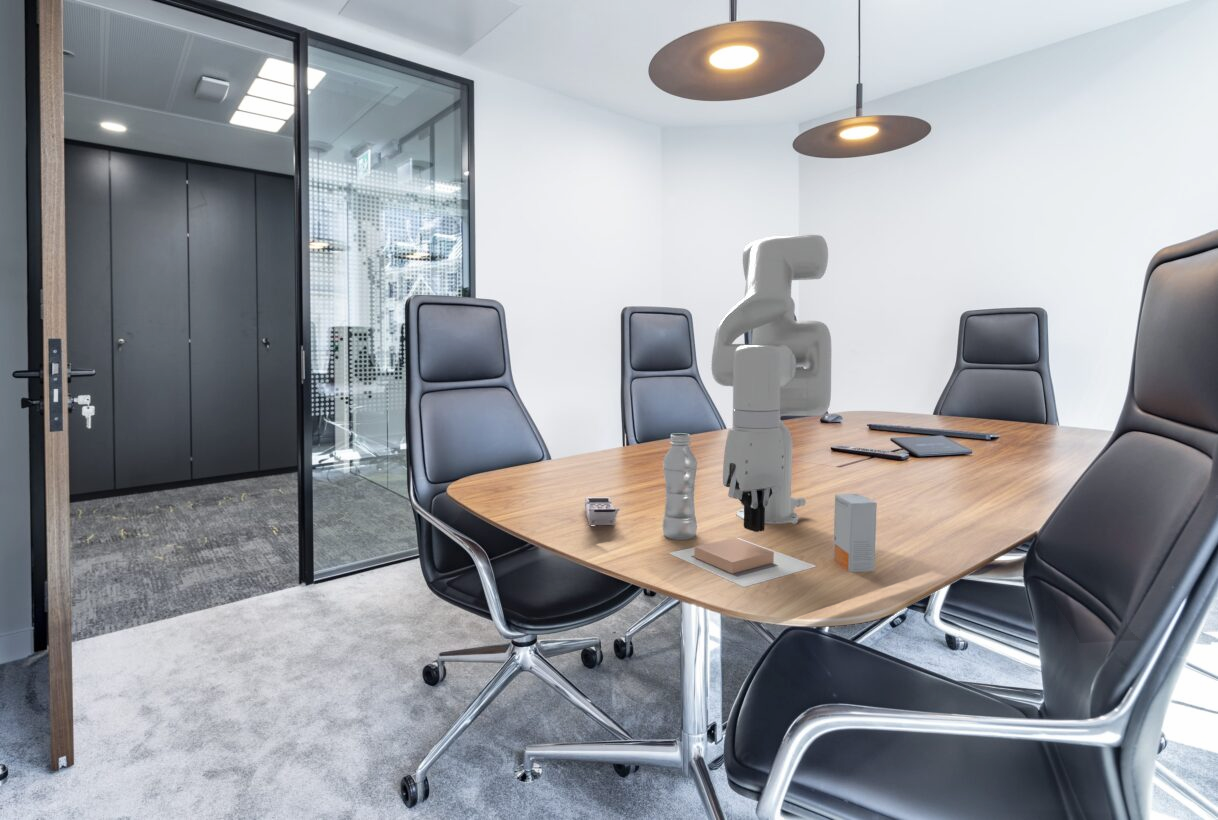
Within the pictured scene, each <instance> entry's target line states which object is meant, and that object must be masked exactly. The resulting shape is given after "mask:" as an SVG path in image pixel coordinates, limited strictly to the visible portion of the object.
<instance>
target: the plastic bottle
mask: <svg viewBox="0 0 1218 820" xmlns="http://www.w3.org/2000/svg"><path fill="white" fill-rule="evenodd" d="M669 440H670V441H669V445H670V446H671V447H670V449H669V450H668V451H667V453H666V454H665V456H664V457H663V461H662V468H663V476H664V483H665V484H664V485H665V505H664V515H663V519H662V527H661V528H662V533H663V535H664V537H665V538H667V539H670V540H674V541H675V540H676V541H687V540H691V539H694V538H695V537H696V535H697V529H698V522H697V518H696V512H695V511H696V509H695V498H694V497H695V483H696V476H697V468H698V461H697V458H696V456H695V455H694V453H693V451H692V450H691V449H690V445H691V435H690V434H689V433H683V432H682V433H680V432H679V433H678V432H676V433H671V434H670V439H669Z"/></svg>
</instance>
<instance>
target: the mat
mask: <svg viewBox="0 0 1218 820" xmlns="http://www.w3.org/2000/svg"><path fill="white" fill-rule="evenodd" d="M736 538H737V539H740V540H742V541H745V542H748V543H751V544H753V545H756V546H759V547H762V548H764V549H767V550H770V551H773V552H774V563H771V564H767V565H763V566H759V567H755V568H752V569H748V570H744V571H740V572H736V573H733V574H732V573H730V572H727V571H725V570H723V569H720V568H718V567H716V566H714V565H711V564H709V563H707V562H704V561H702V560H700V559H697V558H695V557H694V547H695V546H694V547H689V548H686V549H681V550H676V551H672V552H668V554H669V555H672V557H673V556H674V557H676V558H678V559H681V561H682V560H683V561H685V562H687V563H689V564H691V565H693V566H696V567H698V568H700V569H702V570H705V571H707V572H709V573H712V574H714V575H715V576H719V577H721V578H722V579H725V580H726V581H730V582H731V583H734V584H735V585H737V586H741V587H743V588H747V587H750V586H752V585H756V584H760V583H763V582H768V581H770V580H775V579H777V578H781V577H785V576H787V575H788V576H789V575H791V574H796V573H799V572H802V571H803V572H804V571H805V570H809V569H813V568H816V567H818V565H816V564H815V565H814V564H811V563H809V562H806V561H804V560H800V559H798V558H796V557H793V556H790V555H787V554H784V553H781V552H779V551H777V550H773V549H771V548H768V547H766V546H762V545H759V544H756V543H753V542H751V541H748V540H745V539H743V538H739V537H736Z"/></svg>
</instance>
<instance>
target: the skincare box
mask: <svg viewBox="0 0 1218 820" xmlns="http://www.w3.org/2000/svg"><path fill="white" fill-rule="evenodd" d="M834 498H835V499H834V517H833V519H834V520H833V521H834V523H833V524H834V525H833V550H832V551H833V555H832V558H833V561H835V562H836V563H837V564H839V565H840V566H841V567H843V569H844V570H846V571H848V572H849V573H854V572H855V573H857V572H875V566H876V565H875V564H876V563H875V561H876V559H875V557H876V537H877V536H876V533H877V532H876V531H877V530H876V529H877V505H878V504H877V502H876V501H874V500H872V499H870V498H869V497H866V496H863V495H861V494H859V493H840V494H839V493H837V494H835V495H834Z"/></svg>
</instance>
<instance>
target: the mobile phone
mask: <svg viewBox="0 0 1218 820" xmlns="http://www.w3.org/2000/svg"><path fill="white" fill-rule="evenodd" d="M584 507H585V508H584V509H585V510H586V511H585V513H586V517H587V520H588V521H587V522H588V525H589V526H590V525H613V526H615V523H616V518H617V515H618V513H619V511H620V507H618V508H614V505H613V503H612V500H611V498H610V497H609V496H587V497H585V503H584Z"/></svg>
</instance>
